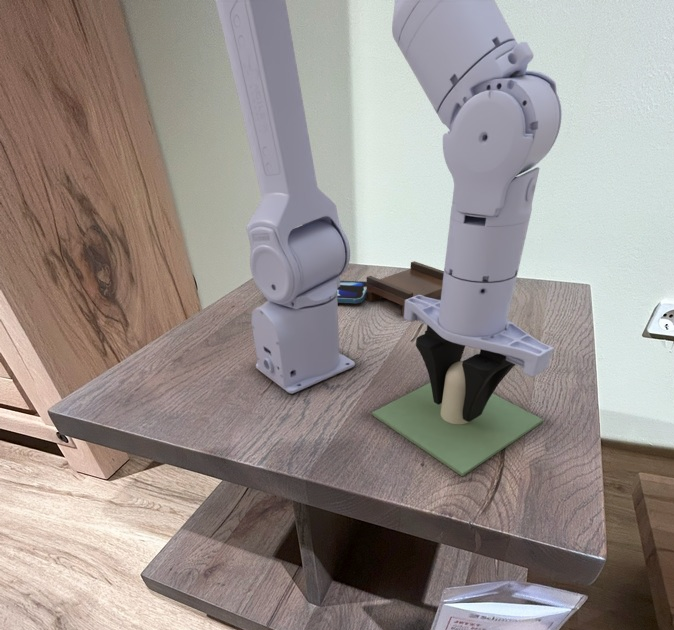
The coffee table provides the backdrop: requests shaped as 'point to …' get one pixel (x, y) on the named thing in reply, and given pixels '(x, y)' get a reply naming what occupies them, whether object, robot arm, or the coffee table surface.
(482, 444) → the mat
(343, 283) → the smartphone
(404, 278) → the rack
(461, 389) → the beige rounded peg
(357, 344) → the coffee table surface
